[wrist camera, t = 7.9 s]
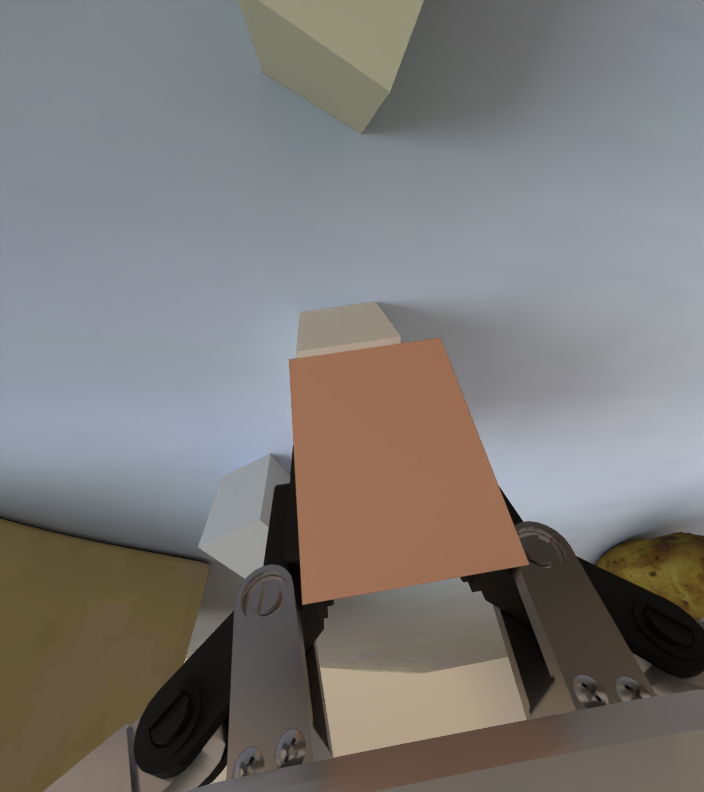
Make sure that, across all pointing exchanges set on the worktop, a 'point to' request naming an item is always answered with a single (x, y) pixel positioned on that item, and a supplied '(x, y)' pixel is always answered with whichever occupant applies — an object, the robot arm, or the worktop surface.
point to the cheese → (83, 644)
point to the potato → (663, 568)
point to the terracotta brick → (391, 474)
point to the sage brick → (333, 50)
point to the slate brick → (243, 515)
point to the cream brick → (344, 330)
